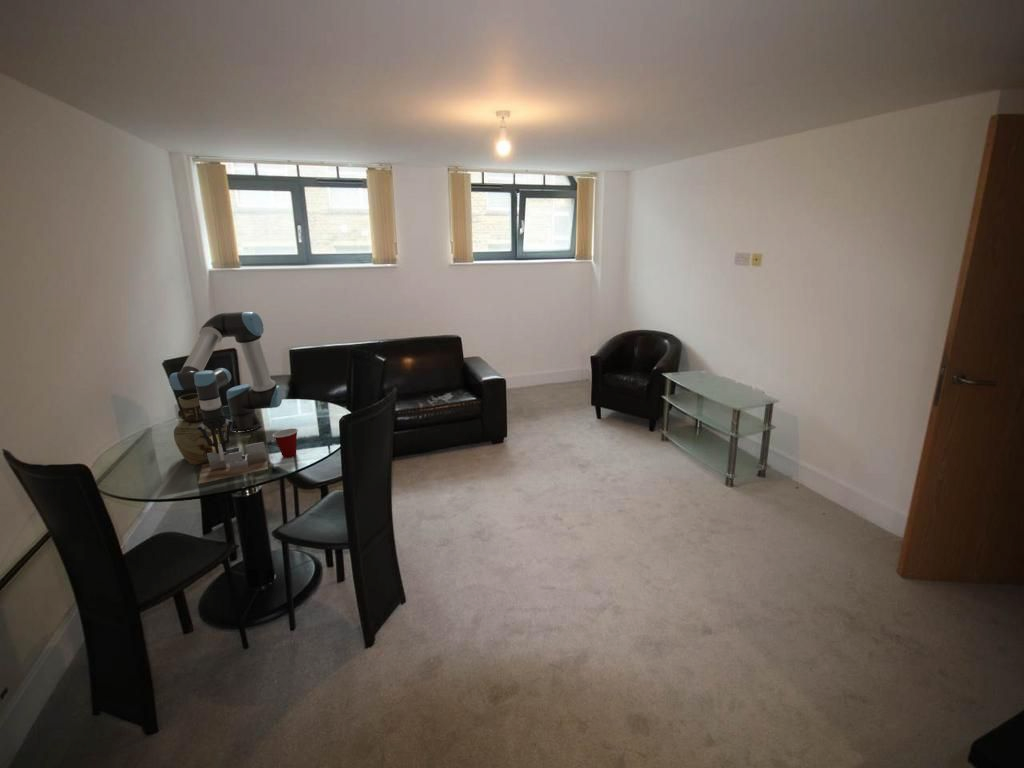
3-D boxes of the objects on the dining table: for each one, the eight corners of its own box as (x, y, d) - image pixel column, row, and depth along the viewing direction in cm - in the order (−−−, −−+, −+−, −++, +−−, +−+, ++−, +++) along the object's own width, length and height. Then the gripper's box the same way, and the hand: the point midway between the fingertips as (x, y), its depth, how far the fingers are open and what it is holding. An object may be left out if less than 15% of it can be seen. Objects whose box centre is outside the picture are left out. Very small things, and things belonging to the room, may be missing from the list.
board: (202, 467, 217) (202, 465, 217) (267, 454, 229) (266, 452, 228) (198, 486, 200) (198, 483, 200) (268, 471, 211) (268, 468, 211)
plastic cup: (292, 449, 234) (288, 425, 230) (306, 453, 228) (302, 429, 225) (271, 457, 225) (266, 433, 222) (285, 462, 219) (281, 437, 216)
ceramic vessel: (226, 462, 221) (212, 400, 213) (174, 469, 216) (157, 406, 207) (237, 446, 239) (224, 388, 230) (188, 452, 234) (174, 393, 225)
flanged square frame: (210, 469, 212) (207, 453, 210) (244, 462, 218) (241, 446, 215) (209, 475, 206) (206, 458, 204) (244, 468, 212) (241, 451, 210)
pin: (216, 464, 217) (209, 435, 213) (224, 462, 219) (217, 433, 215) (215, 467, 215) (209, 437, 211) (224, 465, 216) (217, 436, 212)
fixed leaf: (231, 465, 216) (228, 448, 213) (267, 458, 222) (263, 441, 219) (231, 471, 210) (227, 454, 208) (267, 463, 216) (264, 446, 214)
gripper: (192, 413, 197) (205, 466, 204) (229, 407, 203) (240, 459, 209) (194, 408, 203) (206, 459, 210) (229, 402, 209) (240, 452, 216)
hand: (223, 459), depth 210 cm, fingers closed
